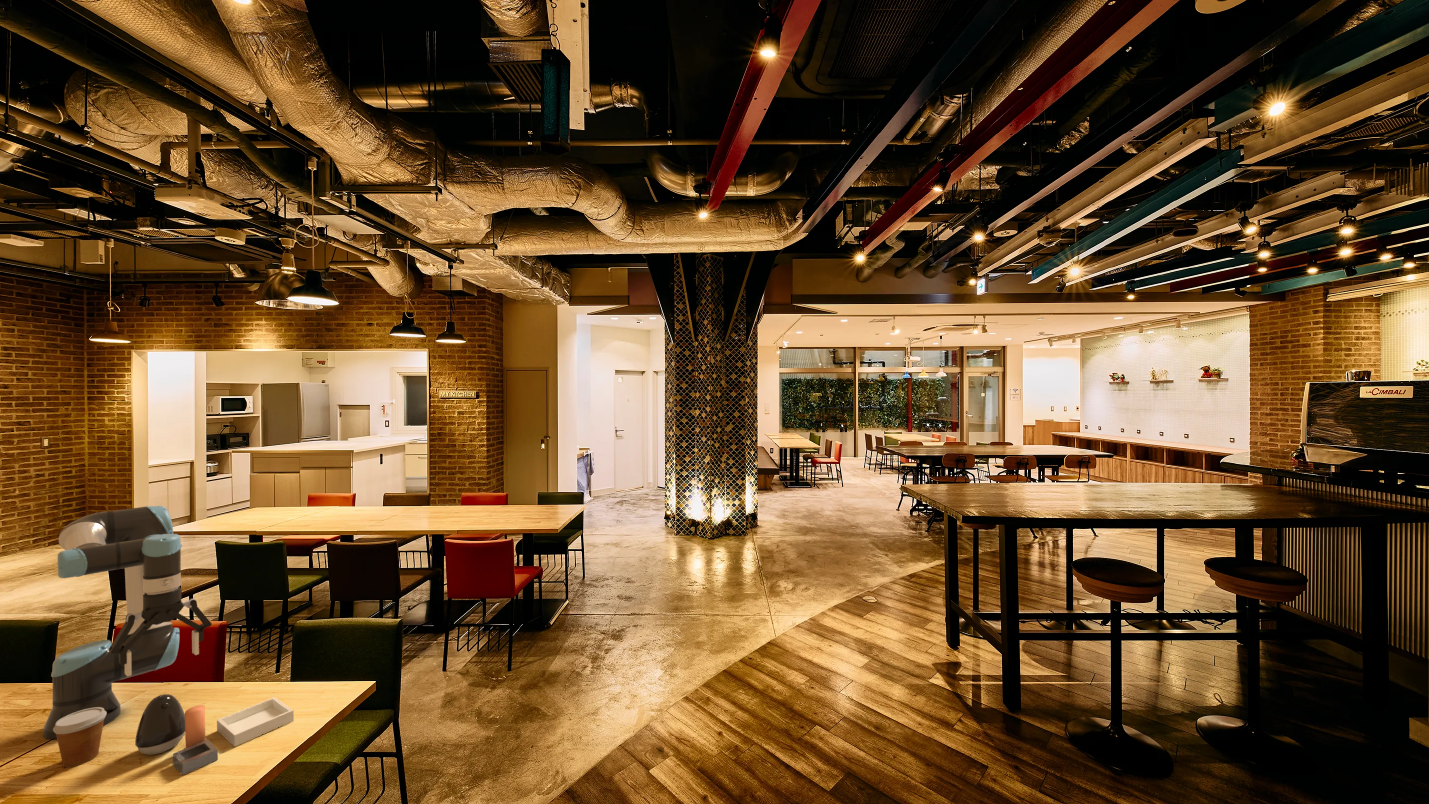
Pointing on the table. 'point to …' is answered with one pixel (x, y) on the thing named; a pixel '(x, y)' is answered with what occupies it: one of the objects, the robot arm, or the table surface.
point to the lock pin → (194, 725)
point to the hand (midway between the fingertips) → (163, 663)
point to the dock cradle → (254, 721)
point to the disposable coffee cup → (80, 735)
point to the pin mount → (195, 757)
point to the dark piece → (160, 725)
